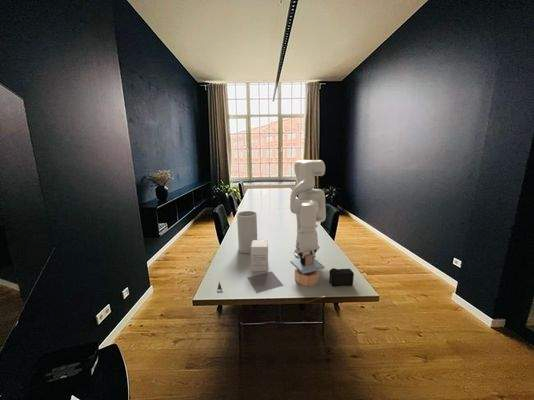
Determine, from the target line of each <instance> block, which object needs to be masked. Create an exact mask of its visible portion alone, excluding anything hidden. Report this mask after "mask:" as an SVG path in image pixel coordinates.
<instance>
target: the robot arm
mask: <svg viewBox="0 0 534 400" xmlns="http://www.w3.org/2000/svg"><path fill="white" fill-rule="evenodd" d="M325 172H326V165H325V162H324V161H323V160H322V159H302V160H297V161H296V162H295V163H294V174H295V177H296V180H297V184H296V185H295V187H293V189H292V191H291V192H290V199H289V200H290V201H289V203H290V204H289V205H290V206H289V210H290V212H291V213H292V214H295V215H296V227H297V228H296V241H295V242H296V243H295V250H294V252H293V254H294V257H296V258H297V259H299V258H300V262H301V264H302V265H304V266H305V258H304V256H305V252H310V253H311V254H312V255H313V260H314V259H315V258H314V257H315V255H316V253H317V252H318V251H319V250H320V246H319V240H318V239H319V238H318V232H317V230H316V229H317V228H318V224H317V222H318V223H323V222H325V220H326V219H327V218H326V217H327V213H326V211H327V210H326V209H327V207H326V195H325V191H324V190H323V189H321V188H314V187H315V184H316V181H315V177H319V176H320V177H323V176H324V175H325V174H326V173H325ZM296 197H297V198H296Z"/></svg>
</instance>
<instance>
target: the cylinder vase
mask: <svg viewBox="0 0 534 400" xmlns="http://www.w3.org/2000/svg"><path fill="white" fill-rule="evenodd" d="M257 218H258V217H257V212H256V211H252V210H243V211H240V212H238V213H237V214H236V219H237V221H236V222H237V239H238V240H237V241H238V251H239V252H240V253H242V254H251V245H252V241H253V240H258V224H257V223H258V221H257V220H258V219H257Z"/></svg>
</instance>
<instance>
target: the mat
mask: <svg viewBox="0 0 534 400" xmlns="http://www.w3.org/2000/svg"><path fill="white" fill-rule="evenodd" d="M246 279H247V280H248V281H249V283H250V285H251V286H252V288H253V290H254V291H255V293H256V294H259V293H262V292H265V291H269V290H272V289H277V288H279V287H280V288H281V287H283V286H285V285H284V284H283V283H282V282H281V281H280V279H279V278H278V277H277V276H276V275H275V273H274V272H273V271H266V272H263V273H259V274H255V275H251V276H248V277H246Z"/></svg>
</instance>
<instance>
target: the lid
mask: <svg viewBox="0 0 534 400" xmlns="http://www.w3.org/2000/svg"><path fill="white" fill-rule="evenodd" d="M304 258H305V266H304V265H302V264H301V262H300V258H296V259H291V260H290V264H292V265H293V266H294V267H295V269H296V268H297V269H298V270H299V271H300V272H301V273H303V274H305V273H309V272H312V271H316V270H318V271H319V270H323V269H325V265H323V264H322V263H321V262H319V261H318V260H316V259H315V258H314V260H313V255H312V254H311V253H310V252H305V256H304Z"/></svg>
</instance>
